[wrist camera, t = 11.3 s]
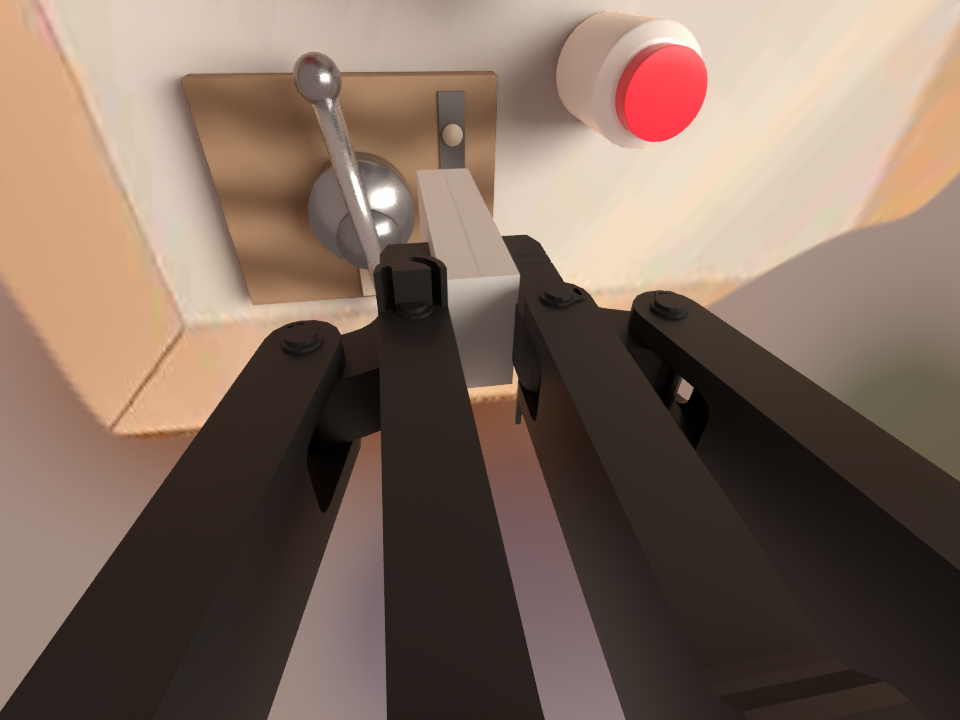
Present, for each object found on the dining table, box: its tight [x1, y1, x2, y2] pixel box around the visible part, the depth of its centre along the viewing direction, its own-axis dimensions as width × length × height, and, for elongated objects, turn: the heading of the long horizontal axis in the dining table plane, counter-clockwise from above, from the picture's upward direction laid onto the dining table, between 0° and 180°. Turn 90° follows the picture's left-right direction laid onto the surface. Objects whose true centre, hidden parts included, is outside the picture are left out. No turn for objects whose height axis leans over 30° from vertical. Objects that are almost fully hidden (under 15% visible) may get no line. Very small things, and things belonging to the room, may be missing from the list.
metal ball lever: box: [293, 52, 414, 293], centre depth 38 cm, size 22×8×5 cm, turn 9°
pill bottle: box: [556, 11, 708, 149], centre depth 35 cm, size 8×8×11 cm
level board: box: [181, 71, 498, 305], centre depth 41 cm, size 18×22×2 cm
